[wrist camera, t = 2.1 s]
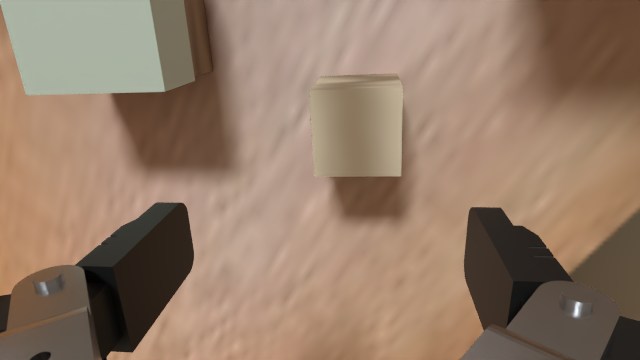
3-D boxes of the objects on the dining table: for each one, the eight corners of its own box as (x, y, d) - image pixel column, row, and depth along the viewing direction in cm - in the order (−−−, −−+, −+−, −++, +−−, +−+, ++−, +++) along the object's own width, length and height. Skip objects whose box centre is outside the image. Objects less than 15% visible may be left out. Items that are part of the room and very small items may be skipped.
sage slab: (173, -70, 23) (135, -86, 19) (195, 80, 26) (165, 91, 22) (39, -60, 24) (-22, -73, 21) (74, 84, 27) (26, 95, 23)
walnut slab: (197, -61, 27) (168, -73, 23) (214, 70, 30) (191, 77, 26) (79, -51, 28) (34, -62, 24) (107, 74, 31) (70, 82, 27)
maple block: (396, 73, 28) (402, 87, 23) (396, 146, 30) (401, 176, 24) (321, 76, 29) (309, 90, 23) (325, 147, 31) (314, 176, 25)
